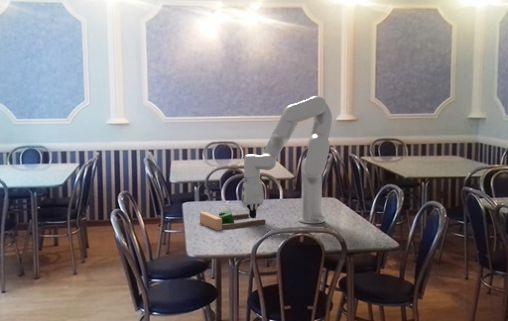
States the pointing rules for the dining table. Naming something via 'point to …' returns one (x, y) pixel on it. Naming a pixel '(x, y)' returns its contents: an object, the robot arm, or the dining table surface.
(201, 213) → the end stop
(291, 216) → the dining table surface
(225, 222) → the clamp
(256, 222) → the guide rails
